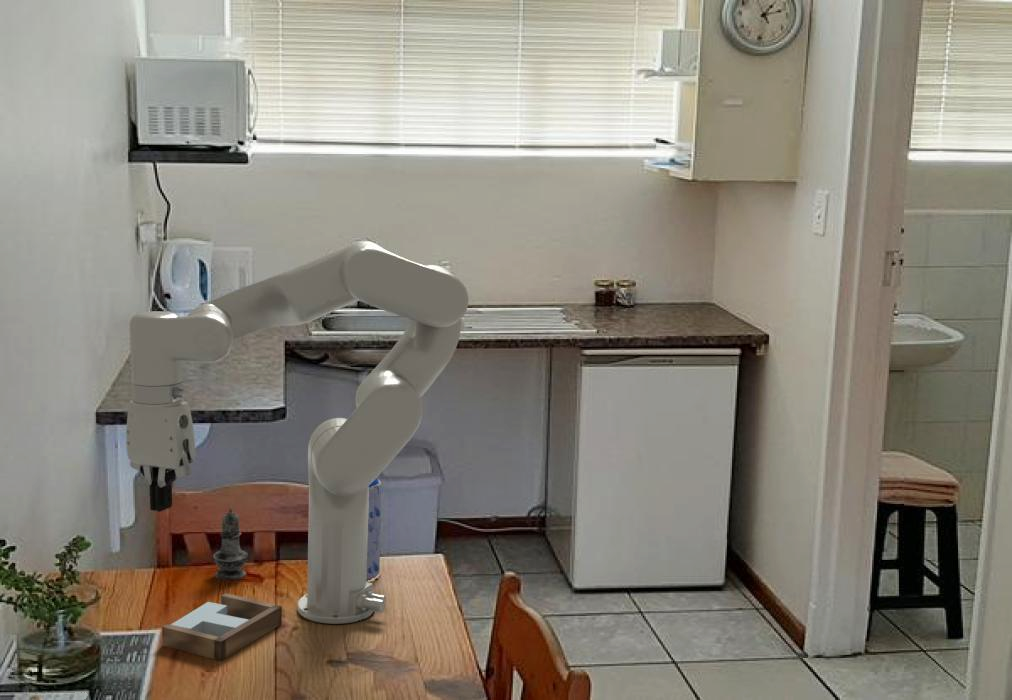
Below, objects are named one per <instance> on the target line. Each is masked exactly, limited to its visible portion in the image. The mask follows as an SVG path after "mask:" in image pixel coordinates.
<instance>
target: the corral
mask: <svg viewBox="0 0 1012 700" xmlns="http://www.w3.org/2000/svg"><path fill="white" fill-rule="evenodd" d="M220 603H221V605H227V615H228V616H233V617H238V618H243V619H248V621H246V622H244V623H243V624H241V625H239V626H238V627H236V628H234V629H232V630H231V631H229V632H227V633H225V634H224V635H222V636H220V637H217V636H213V635H209V634H206V633H202V632H198V631H194V630H190V629H186V628H182V627H178V626H174V625H171V624H169V623H167V624H165V625H162V627H161V628H162V630H161V631H162V632H161V635H162V636H161V639H162V642H161V643H162V647H166V648H170V649H173V650H174V649H175V650H178V651H182V652H186V653H189V654H193V655H198V656H200V657H203V658H204V657H205V658H208V659H213V660H214V661H215V660H216V661H219V662H222V661H223V660H225V659H227V658H228V657H230V656H231V655H233V654H235V653H237V652H238V651H239V650H241V649H243V648H245V647H247V646H248V645H249V644H251V643H253V642H255V641H257V640H258V639H260V638H261V637H263V636H264V635H267V634H268V633H269V632H271V631H273V630H275V629H276V628H278V627H279V626H282V622H283V621H282V620H283V619H282V615H283V614H282V611H283V610H282V609H283V607H282V605H278V604H273V603H270V602H265V601H262V600H256V599H252V598H247V597H244V596H240V595H235V594H231V593H226V592H225V593H224V594H222V595H221V596H220Z"/></svg>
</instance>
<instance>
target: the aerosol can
mask: <svg viewBox="0 0 1012 700" xmlns="http://www.w3.org/2000/svg"><path fill="white" fill-rule="evenodd" d="M382 487H383V486H382V481H381V480H380V479H378V477H377V478H376V479H375V480H374V481H373V482H372V483H371V484H370V485H369V513H368V542H367V581H368V580H371V579H372V578H375V577H376V576H377V575H378V574H379V572H380V573H381V570H380V567H381V565H380V564H381V535H382V534H381V533H382V532H381V531H382V530H381V529H382V528H381V527H382V526H381V525H382V491H383V488H382Z"/></svg>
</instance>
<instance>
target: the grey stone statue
mask: <svg viewBox="0 0 1012 700" xmlns="http://www.w3.org/2000/svg"><path fill="white" fill-rule="evenodd" d="M221 522H222V526H221V527H222V529H221V530H222V532H220V533H219V536H220V537H221V546H220V550H218V551H216V552H215V553H213V556H212V557H213V559H214V562H215V564H216V566H217V568H218V569H219V570H217V571H216V572H215V573H214V577H215V578H216V579H218V578H219V579H218V580H221V579H223V581H236V580H241V579H242V578H244V577H246V576H247V571H245V570H243V569H242V568H243V566H245V563H246V561H247V558H248V555H249V554H248V552H247V551H245V550H243V549H241V546H240V537H241V536H242V532H240V517H239V515H238V514H237V513H235V512H233V509H232V508H229V509H228V513H225V514H224V515H223V516H222V521H221Z"/></svg>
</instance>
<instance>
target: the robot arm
mask: <svg viewBox="0 0 1012 700" xmlns="http://www.w3.org/2000/svg"><path fill="white" fill-rule="evenodd" d="M357 302H362V303H365V304H367V305H369V306H372V307H374V308H377V309H380V310H382V311H385V312H387V313H391V314H393V315H396V316H399V317H403V318H406V319H409V320H408V324H407V326H406V328H405V330H404V332H403V333H402V335H401V337H400V338H399V339H398V341H397V342H396V343H395V344H394V346H393V347H391V349H390V351H389V352H388V353H387V354H385V357H383V359H382V360H381V361H380V362H379V363H378V364H377V365H376V366H375V368H374V369H373V370H371V372H370V373H369V374H368V375H367V376H366V377H365V378H364V379H363V380H362V382H361V383H360V384H359V385H358V387H357V390H356V394H355V407H356V408H355V409H354V410H353V411H352V412H351V414H350V416H349V417H348V418H346V417H345V418H344V417H334V418H330V419H327V420H325V421H323V422H322V423H321V424H319V425H318V426H317V427H316V428H315V429H314V431H313V433H312V434H311V436H310V438H309V439H310V440H309V442H308V447H307V469H308V470H307V471H308V521H307V522H308V526H307V527H308V532H307V533H308V534H307V537H308V539H307V540H308V541H307V542H308V543H307V591H306V592H307V593H306V594H304V595H303V596H302V597H300V599H298V601H297V607H296V608H297V612H298V614H300V616H301V617H303V618H304V619H306V620H309V621H311V622H315V623H321V624H328V625H329V624H330V625H337V624H338V625H341V624H351V623H355V622H359V620H360V621H363V620H365V619H367V618H369V617H371V614H372V613H373V612H374V613H375V612H378V613H383V612H384V611H385V610H386V601H387V596H386V595H383V594H376V593H374V591H373V583H372V582H367V542H368V513H369V485H370V484H371V483H372V482H373V481H374V480H375V479H376V478H378V477H379V476H380V474H381V473H382V472H383V471H385V469H386V468H387V467H388V466H389V464H390V463H392V461H393V460H394V459H395V458H396V456H398V454H399V453H400V452H401V451H402V450H403V449H404V447H406V445H407V444H408V443H409V441H410V440H411V439H412V437H413V436H414V435H415V433H416V432H417V430H418V428H419V426H420V425H421V423H422V422H421V421H422V419H423V418H422V417H423V410H424V407H423V401H422V397H423V396H424V394H425V393H426V392H427V391H428V390H429V388H431V386H432V385H433V383H434V382H435V381H436V379H438V377H439V376H440V374H441V373H442V372H443V371H444V369H445V368H446V366H448V364H449V362H450V360H451V359H452V357H453V356H454V353H455V351H456V349H457V346H458V344H459V340H460V336H461V331H462V330H461V329H462V328H461V327H462V318H463V317H464V316H465V314H466V312H467V309H468V306H469V293H468V291H467V287H466V286H465V284H464V283H463V282H462V281H461V280H460V278H458V277H457V275H455V274H454V273H452V272H450V271H449V270H448V269H447V268H445V267H442V266H439V265H437V264H436V265H435V264H426V265H423V264H420V263H417V262H416V261H413V260H409V259H407V258H404V257H403V256H400V255H397V254H395V253H393V252H390V251H389V250H386V249H384V247H382V246H380V245H379V244H377V243H375V242H373V241H357V242H355V243H352V244H348V245H347V246H344V247H342V248H340V249H336V250H335V251H332V252H330V253H328V254H327V253H326V255H322V256H320V257H318V258H315V259H313V260H311V261H309V262H307V263H304V264H301V265H298V266H297V267H294V268H292V269H289V270H287V271H284V272H281V273H279V274H276V275H273V276H270V277H268V278H266V279H263V280H260V281H257V282H255V283H252V284H248V285H246V286H244V287H240V288H237V289H236V290H233V291H230V292H229V293H226V294H223V295H220V296H219V297H216V298H214V299H212V300H209V301H207V302H204V303H202V304H200V305H198V306H196V307H195V308H194V309H192V310H191V311H190V312H189V313H188V314H187V316H178V315H177V314H176V313H175V312H171V311H163V310H162V311H161V310H157V311H155V310H154V311H153V310H151V311H142V312H138V313H136V314H134V315H133V316H131V318H130V320H129V346H130V347H129V350H130V372H131V373H130V375H131V376H130V377H131V400H130V401H129V404H128V410H127V416H126V417H127V419H126V428H125V429H126V432H125V433H126V437H125V438H126V439H125V441H126V442H125V445H126V456H127V459H128V460H129V461H130V463H129V466H130V467H131V469H134V470H136V471H139V472H140V473H141V474H142V476H143V478H144V481H145V483H146V485H148V486H149V508H150V510H151V511H153V512H154V511H156V512H157V513H160V512H163V511H165V510H168V509H170V508H172V506H173V484H174V483H175V482H176V479H178V478H181V477H182V478H183V477H186V476H188V475H190V474H191V471H192V470H191V469H190V464H192V463H194V462H195V460H196V440H195V439H196V438H195V430H194V429H195V428H194V423H193V418H192V413H191V409H190V406H189V402H188V401H184V399H186V398H187V397H188V395H189V393H188V390H187V389H186V388H184V378H183V377H184V375H183V371H184V370H183V362H190V363H199V364H211V363H212V364H213V363H216V362H219V361H221V360H223V359H224V358H226V357H227V356H228V354H229V353H230V352H231V350H232V348H233V346H234V345H233V344H234V342H236V341H238V340H240V339H243V338H245V337H247V336H250V335H252V334H255V333H259V332H260V331H263V330H266V329H270V328H274V327H275V328H276V327H282V326H285V327H286V326H290V327H291V326H293V327H294V326H300V325H301V326H302V325H304V324H308V323H310V322H313V321H315V320H317V319H319V318H321V317H324V316H327V315H329V314H331V313H332V312H335V311H338V310H340V309H342V308H345V307H347V306H350V305H352V304H355V303H357ZM374 613H373V614H374ZM373 614H372V615H373ZM362 619H363V620H362Z"/></svg>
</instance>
